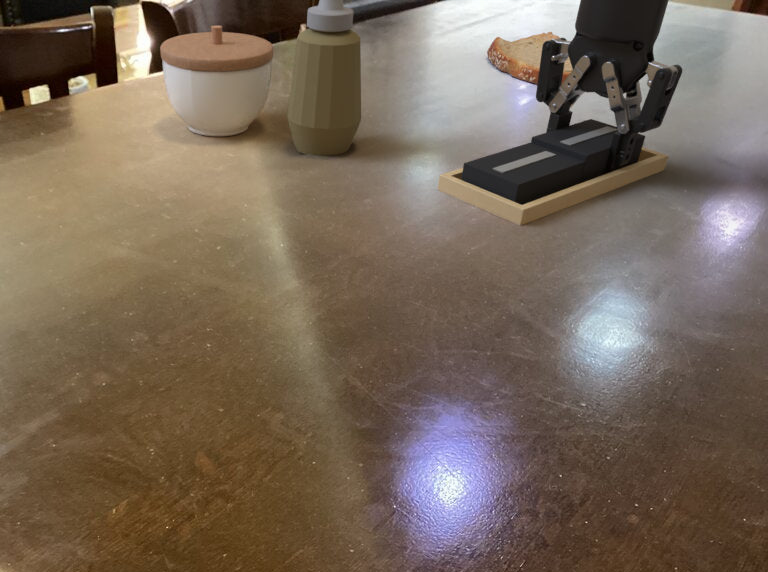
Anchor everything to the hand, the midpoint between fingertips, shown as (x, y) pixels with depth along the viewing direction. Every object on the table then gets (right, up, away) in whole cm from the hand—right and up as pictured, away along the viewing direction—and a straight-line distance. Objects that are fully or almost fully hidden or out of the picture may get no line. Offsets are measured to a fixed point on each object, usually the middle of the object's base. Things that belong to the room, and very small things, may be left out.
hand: (583, 157), depth 84 cm
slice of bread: (+8, +22, +34) cm, 42 cm away
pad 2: (0, -1, 0) cm, 1 cm away
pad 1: (-8, -5, -4) cm, 10 cm away
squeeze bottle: (-26, +2, +6) cm, 27 cm away
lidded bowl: (-38, +7, +12) cm, 41 cm away
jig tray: (-4, -3, -1) cm, 5 cm away
